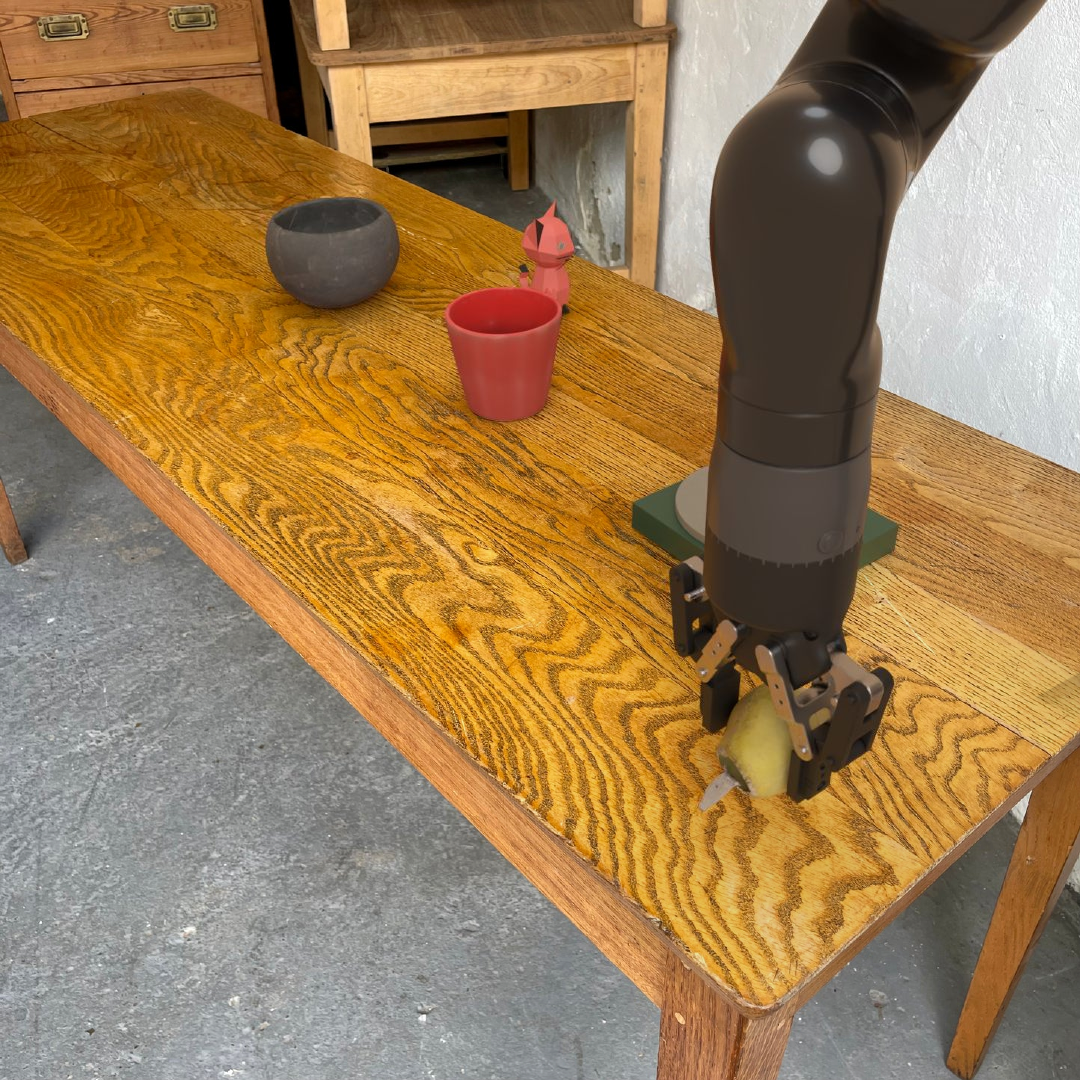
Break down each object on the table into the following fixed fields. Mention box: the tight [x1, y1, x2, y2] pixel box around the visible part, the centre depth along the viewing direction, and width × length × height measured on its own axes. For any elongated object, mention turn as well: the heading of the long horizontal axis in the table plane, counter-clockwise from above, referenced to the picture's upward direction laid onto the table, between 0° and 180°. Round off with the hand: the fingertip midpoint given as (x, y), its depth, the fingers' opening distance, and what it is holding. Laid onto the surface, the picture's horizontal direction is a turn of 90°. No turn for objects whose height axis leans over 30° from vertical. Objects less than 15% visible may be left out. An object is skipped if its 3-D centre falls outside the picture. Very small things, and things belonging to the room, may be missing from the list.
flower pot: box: [444, 286, 563, 422], centre depth 104 cm, size 11×11×10 cm
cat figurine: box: [518, 200, 579, 315], centre depth 120 cm, size 7×7×12 cm
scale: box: [631, 464, 900, 571], centre depth 86 cm, size 15×14×3 cm
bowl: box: [264, 196, 401, 309], centre depth 126 cm, size 15×15×10 cm
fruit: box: [697, 682, 818, 813], centre depth 62 cm, size 6×6×10 cm
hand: (760, 756), depth 63 cm, fingers closed on fruit, 6 cm apart
